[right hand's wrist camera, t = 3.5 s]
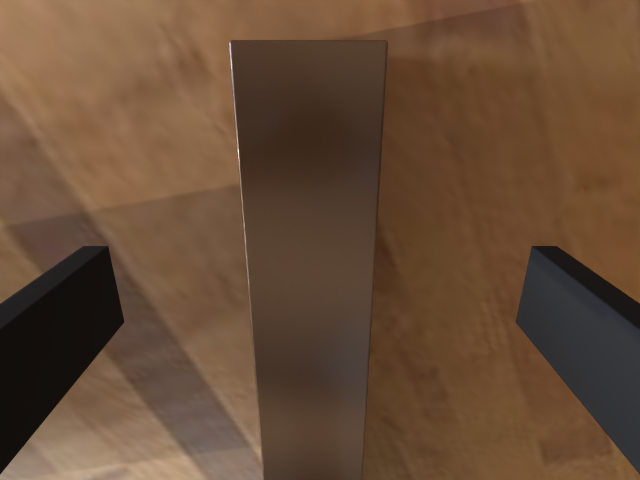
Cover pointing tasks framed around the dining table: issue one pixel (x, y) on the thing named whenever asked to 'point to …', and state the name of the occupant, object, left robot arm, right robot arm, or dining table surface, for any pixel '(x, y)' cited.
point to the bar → (310, 242)
